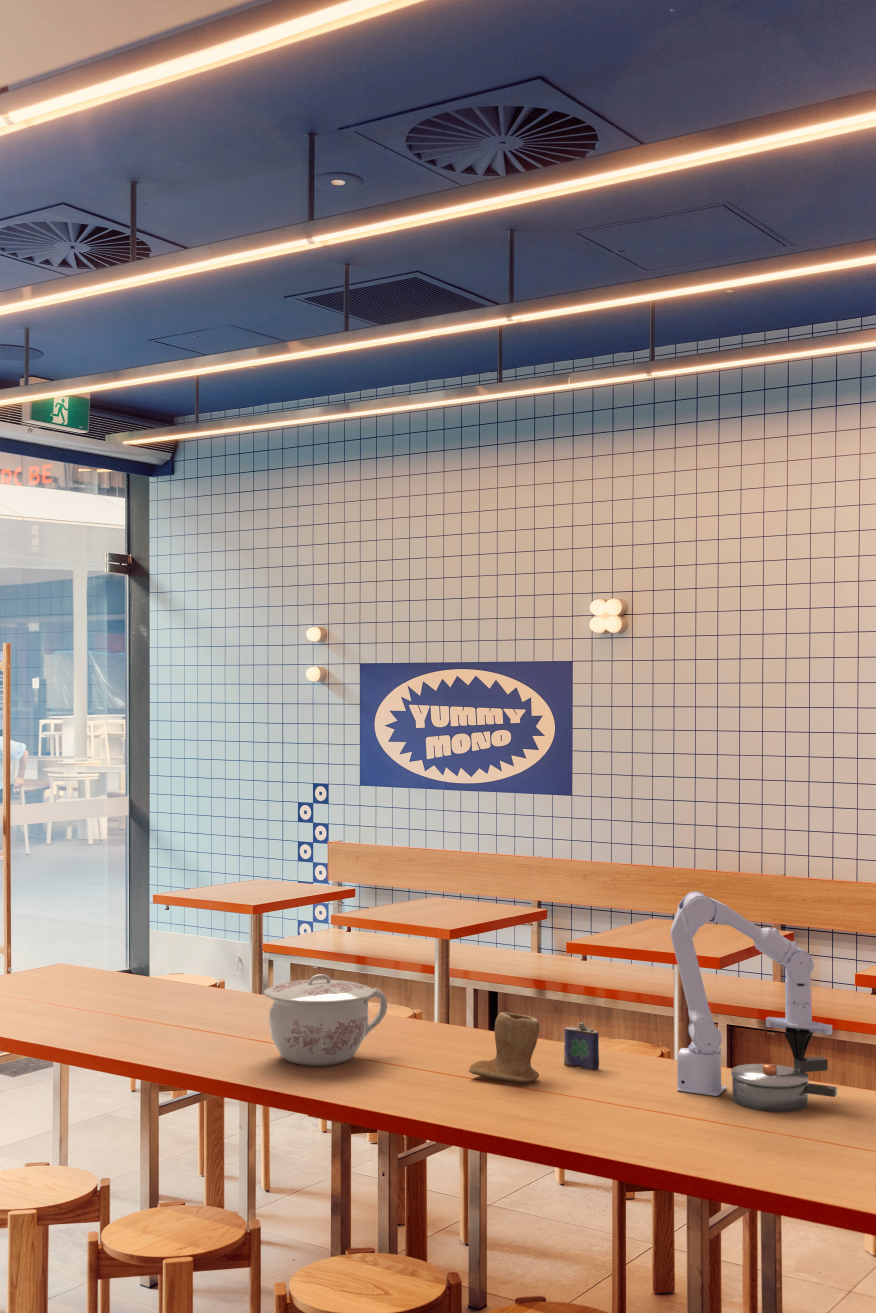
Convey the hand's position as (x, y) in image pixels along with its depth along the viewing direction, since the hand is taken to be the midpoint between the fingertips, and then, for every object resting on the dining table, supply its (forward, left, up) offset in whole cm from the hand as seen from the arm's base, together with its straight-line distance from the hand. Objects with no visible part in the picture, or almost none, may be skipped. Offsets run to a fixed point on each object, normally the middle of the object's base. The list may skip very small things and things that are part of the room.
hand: (799, 1063), depth 275 cm
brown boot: (-62, -21, -7) cm, 66 cm away
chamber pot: (-110, -29, -7) cm, 114 cm away
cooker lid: (-2, -8, -2) cm, 9 cm away
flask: (-51, -2, -7) cm, 52 cm away
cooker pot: (-1, -10, -7) cm, 12 cm away
